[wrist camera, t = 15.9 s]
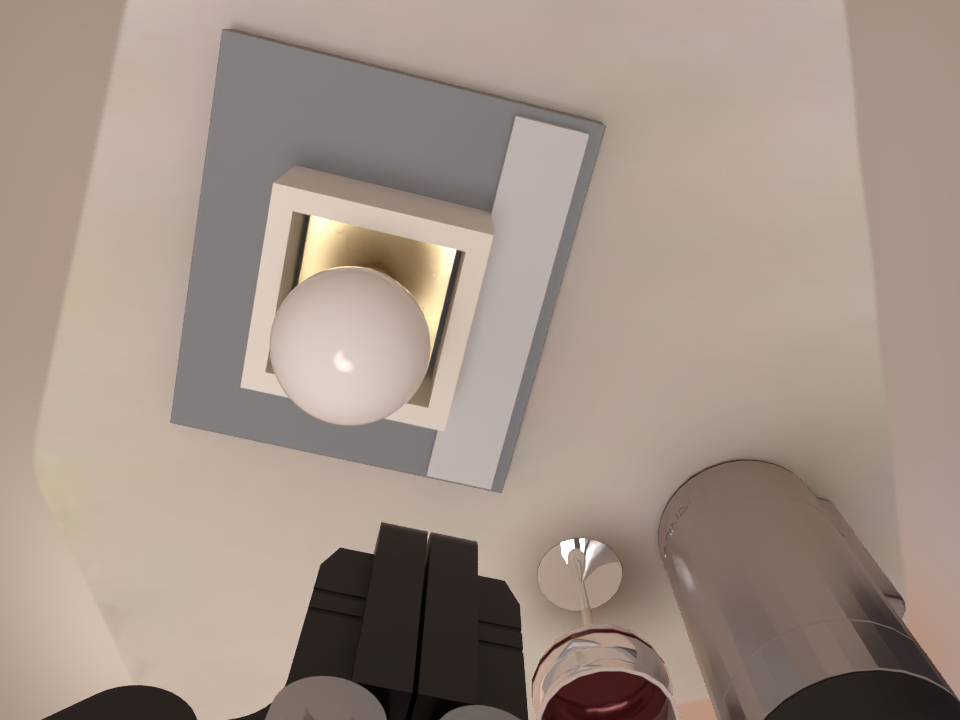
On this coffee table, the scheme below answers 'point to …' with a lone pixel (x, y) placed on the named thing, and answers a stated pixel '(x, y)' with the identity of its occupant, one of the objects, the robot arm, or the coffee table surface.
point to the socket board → (389, 209)
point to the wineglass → (595, 647)
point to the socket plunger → (383, 261)
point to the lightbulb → (350, 345)
